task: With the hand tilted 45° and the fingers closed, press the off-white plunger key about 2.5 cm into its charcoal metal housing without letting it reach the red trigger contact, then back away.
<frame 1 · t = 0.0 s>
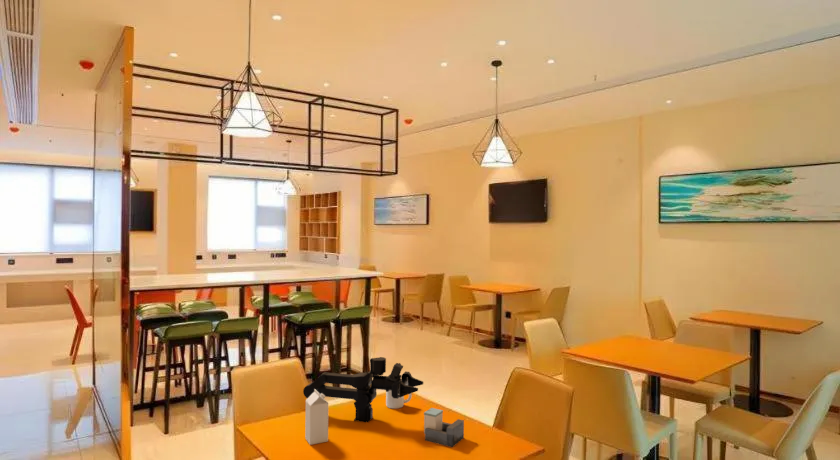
hand: (420, 386, 210), 17 cm above the table, tool horizontal, fingers open, 9 cm apart
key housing: (444, 439, 196), on the table
milk carton: (316, 440, 194), on the table
mug: (398, 406, 233), on the table
plunger key: (433, 421, 199), point 6 cm above the table, slide at 0.0 cm
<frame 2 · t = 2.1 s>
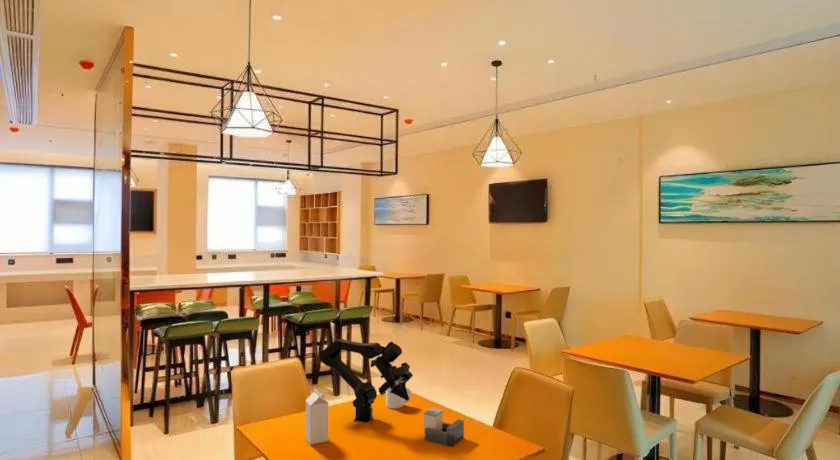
hand: (408, 399, 205), 12 cm above the table, tool tilted 45°, fingers closed
nothing on the table moved.
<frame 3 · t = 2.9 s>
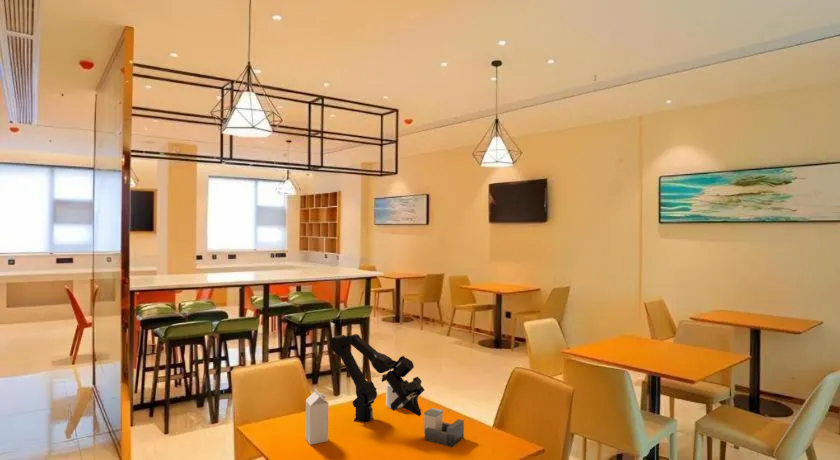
hand: (420, 415, 202), 7 cm above the table, tool tilted 45°, fingers closed
nothing on the table moved.
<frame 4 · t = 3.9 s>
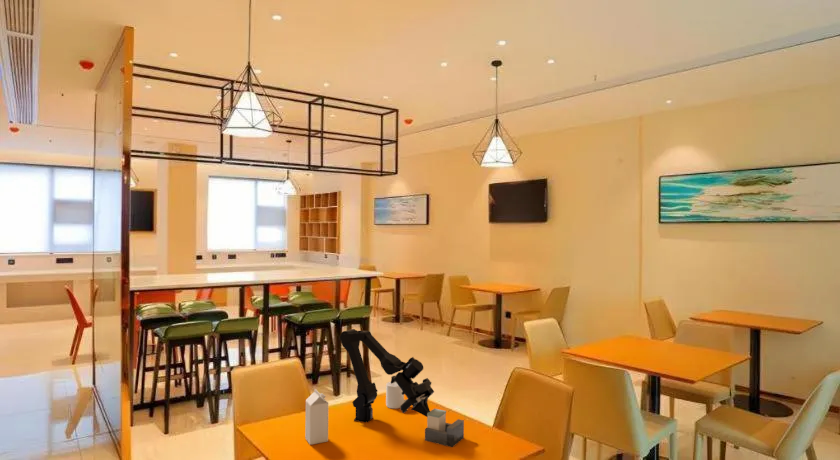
hand: (430, 417, 199), 7 cm above the table, tool tilted 45°, fingers closed, pressing on plunger key
plunger key: (436, 422, 198), point 6 cm above the table, slide at 1.4 cm, touching gripper
everything else where it was.
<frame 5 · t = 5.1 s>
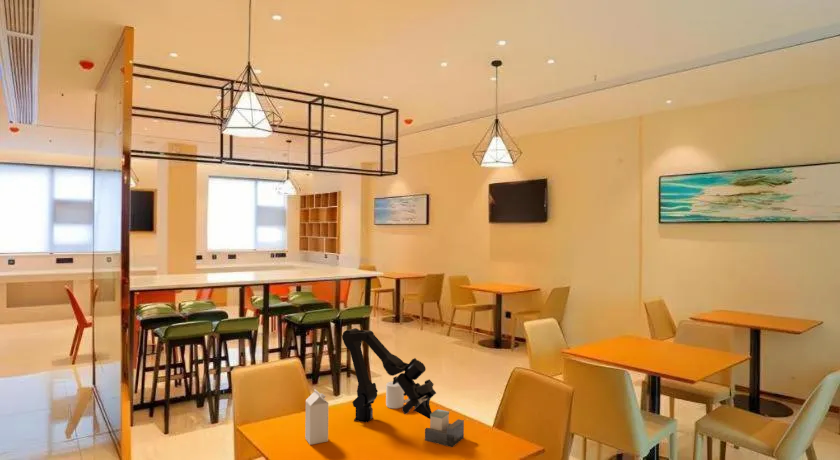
hand: (432, 418, 199), 7 cm above the table, tool tilted 45°, fingers closed
plunger key: (439, 423, 197), point 6 cm above the table, slide at 2.8 cm
everything else where it was.
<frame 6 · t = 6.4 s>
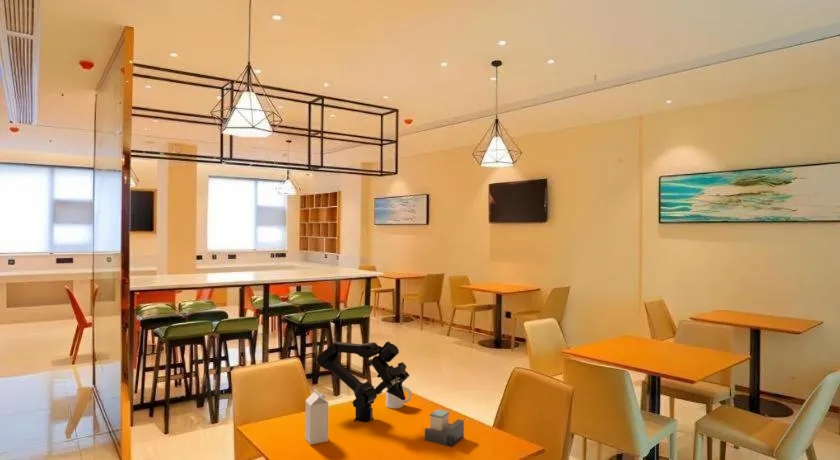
hand: (404, 399, 206), 12 cm above the table, tool tilted 45°, fingers closed
nothing on the table moved.
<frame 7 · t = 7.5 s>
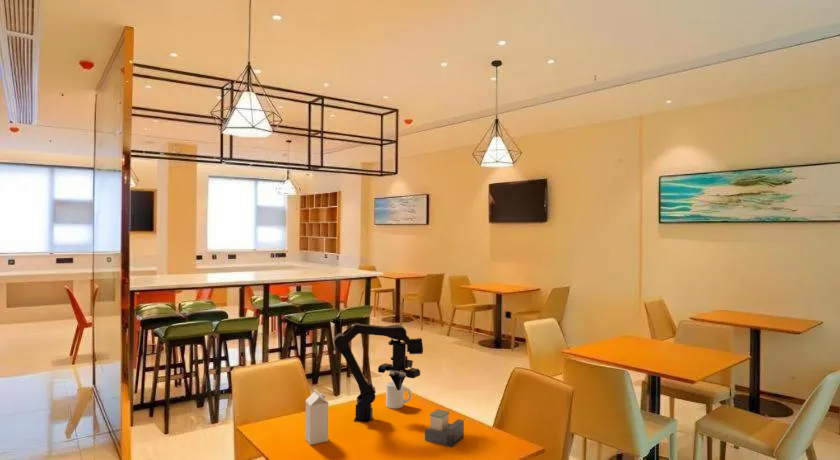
hand: (398, 390, 218), 12 cm above the table, tool pointing down, fingers closed
nothing on the table moved.
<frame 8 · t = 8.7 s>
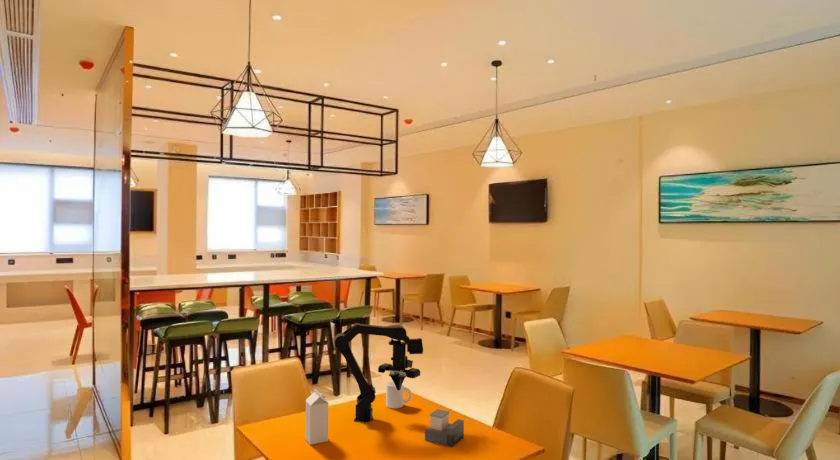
hand: (398, 390, 218), 12 cm above the table, tool pointing down, fingers closed
nothing on the table moved.
at the end: plunger key slide at 2.8 cm; mug moved 0.2 cm from its start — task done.
